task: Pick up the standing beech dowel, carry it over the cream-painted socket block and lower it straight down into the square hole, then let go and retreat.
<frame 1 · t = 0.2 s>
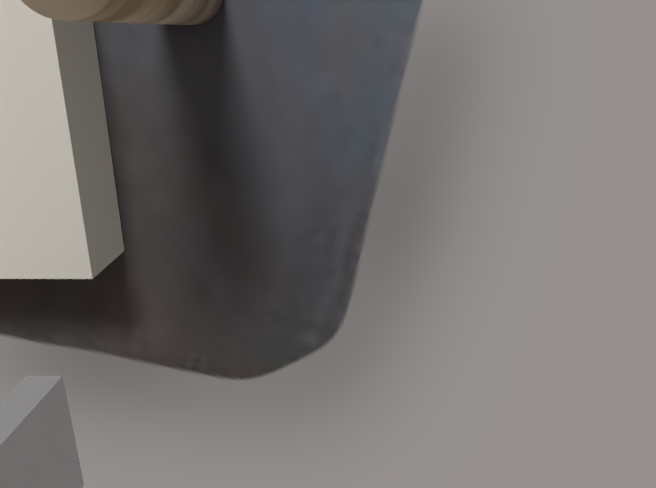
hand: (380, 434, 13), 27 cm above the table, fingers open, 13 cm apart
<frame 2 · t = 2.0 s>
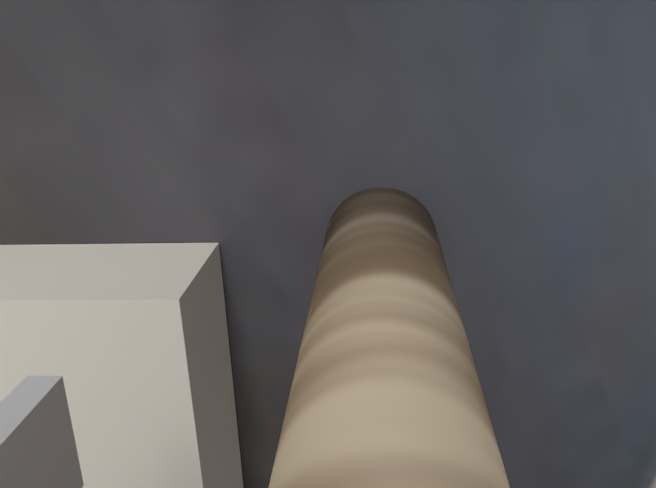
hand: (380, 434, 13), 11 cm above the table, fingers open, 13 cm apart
socket block: (51, 421, 26), on the table
dowel: (380, 240, 23), on the table
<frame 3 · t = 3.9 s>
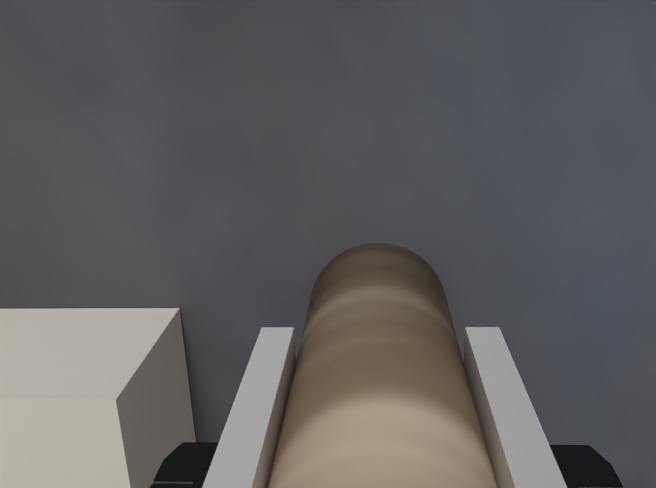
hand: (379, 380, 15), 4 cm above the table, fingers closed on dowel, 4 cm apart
dowel: (377, 307, 19), on the table, touching gripper
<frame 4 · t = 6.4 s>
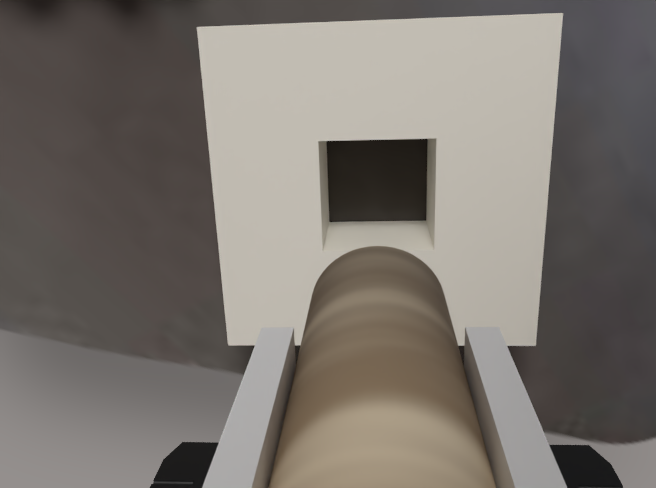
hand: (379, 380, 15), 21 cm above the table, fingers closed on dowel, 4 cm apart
socket block: (377, 173, 35), on the table
dowel: (377, 309, 19), point 17 cm above the table, touching gripper
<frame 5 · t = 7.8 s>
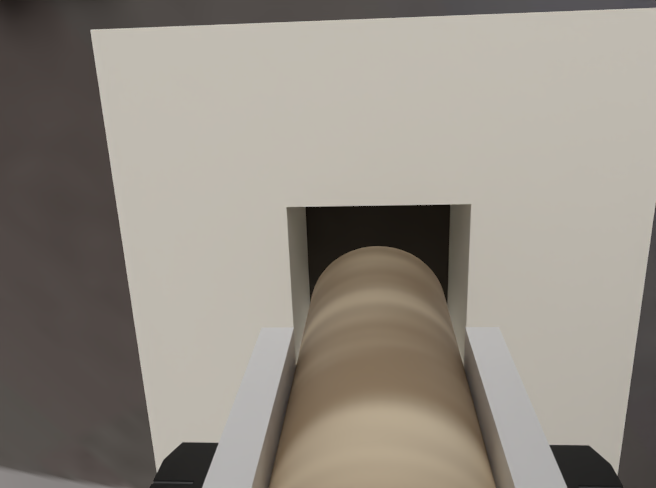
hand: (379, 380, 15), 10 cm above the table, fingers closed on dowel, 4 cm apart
socket block: (377, 239, 24), on the table
dowel: (377, 309, 19), point 6 cm above the table, touching gripper
when the fingers open (7 cm above the table, at t = 9.1 s): dowel drops 2 cm, resting in socket block.
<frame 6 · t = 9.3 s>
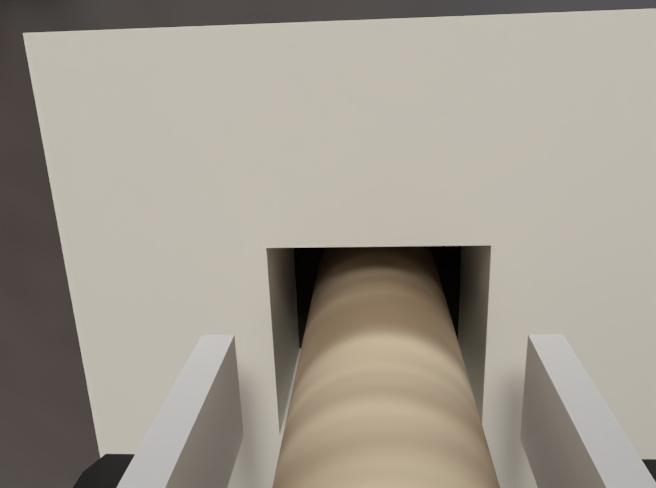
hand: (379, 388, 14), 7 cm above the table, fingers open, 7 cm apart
socket block: (376, 275, 21), on the table
dowel: (376, 277, 21), resting in socket block
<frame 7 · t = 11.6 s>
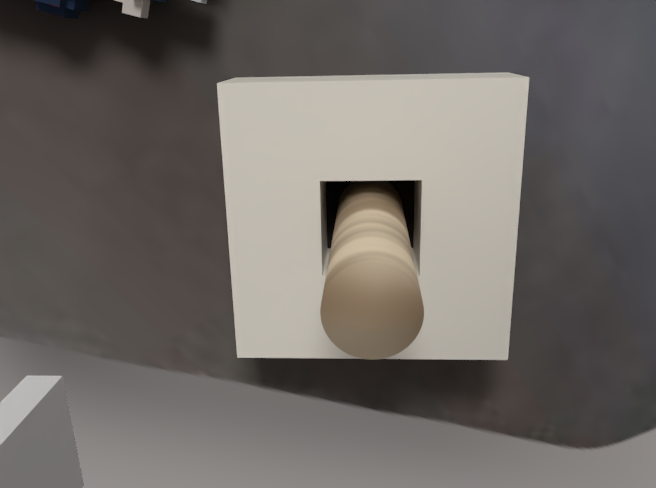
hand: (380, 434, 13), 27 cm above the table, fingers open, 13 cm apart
socket block: (370, 206, 39), on the table
dowel: (370, 207, 39), resting in socket block
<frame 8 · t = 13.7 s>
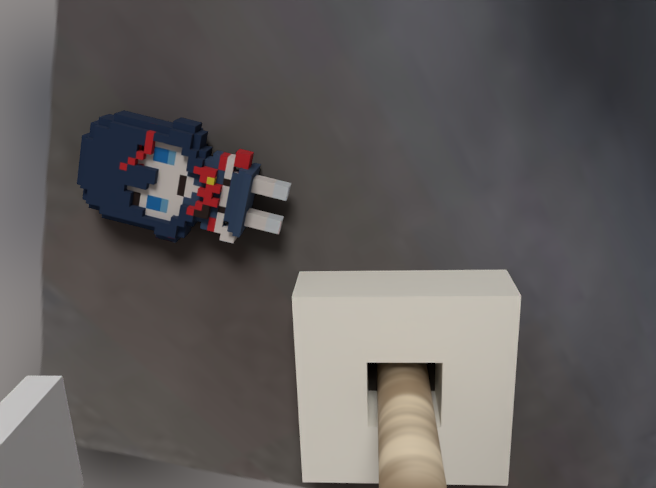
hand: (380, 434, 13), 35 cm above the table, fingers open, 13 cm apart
socket block: (401, 361, 51), on the table
figurine: (194, 175, 48), on the table
dowel: (401, 362, 51), resting in socket block
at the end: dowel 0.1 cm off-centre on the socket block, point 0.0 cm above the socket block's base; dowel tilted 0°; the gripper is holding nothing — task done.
